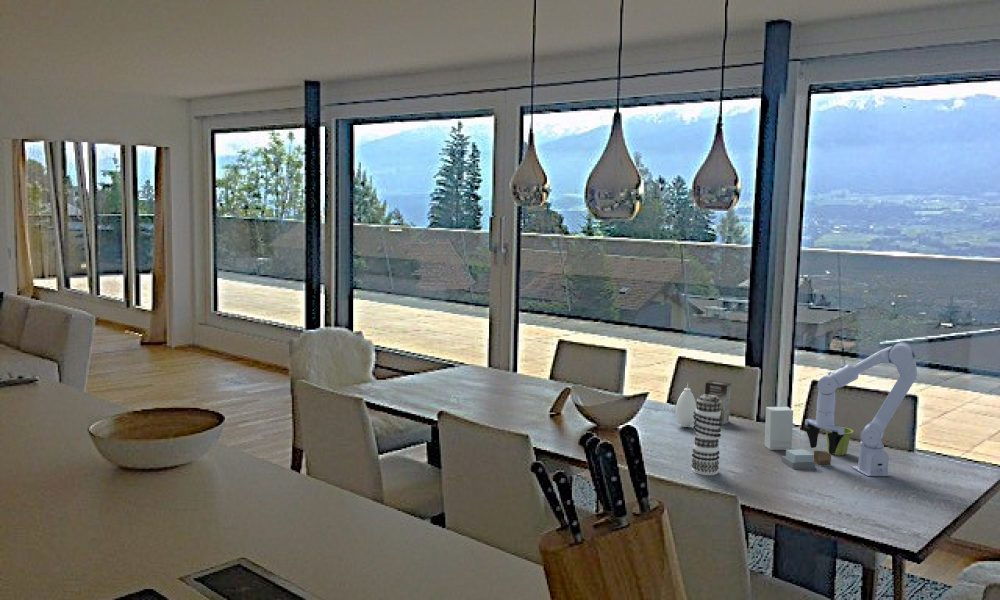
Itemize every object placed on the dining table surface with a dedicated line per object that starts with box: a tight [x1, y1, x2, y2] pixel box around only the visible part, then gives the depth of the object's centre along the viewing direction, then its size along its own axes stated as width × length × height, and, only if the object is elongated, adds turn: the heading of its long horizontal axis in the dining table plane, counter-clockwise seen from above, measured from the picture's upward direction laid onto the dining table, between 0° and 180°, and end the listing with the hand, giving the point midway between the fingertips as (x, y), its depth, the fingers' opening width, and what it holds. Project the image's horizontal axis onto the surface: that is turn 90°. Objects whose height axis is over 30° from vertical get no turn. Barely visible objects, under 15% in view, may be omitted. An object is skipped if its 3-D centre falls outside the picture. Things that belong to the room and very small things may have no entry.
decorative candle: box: [691, 393, 723, 476], centre depth 273 cm, size 9×9×25 cm
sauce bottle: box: [675, 381, 697, 428], centre depth 330 cm, size 8×8×18 cm
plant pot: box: [825, 426, 854, 456], centre depth 300 cm, size 9×9×9 cm
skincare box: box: [764, 406, 794, 451], centre depth 304 cm, size 8×6×15 cm
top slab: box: [785, 448, 814, 463], centre depth 284 cm, size 6×6×2 cm
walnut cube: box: [813, 450, 832, 466], centre depth 286 cm, size 4×4×4 cm
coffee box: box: [704, 379, 732, 425], centre depth 341 cm, size 9×6×16 cm
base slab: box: [781, 455, 816, 470], centre depth 284 cm, size 8×8×2 cm
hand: (822, 450), depth 286 cm, fingers open, 7 cm apart
